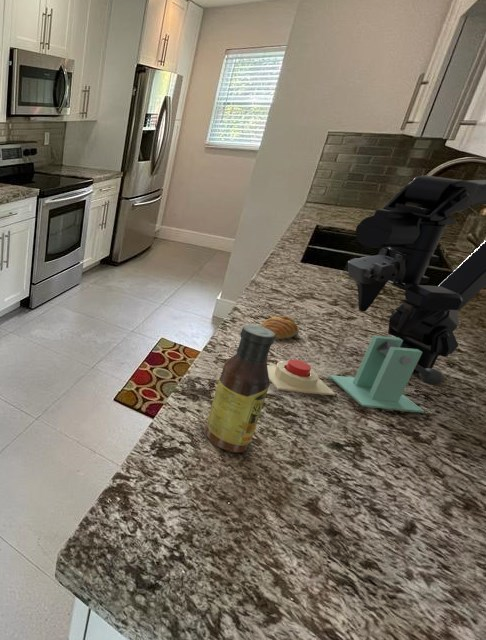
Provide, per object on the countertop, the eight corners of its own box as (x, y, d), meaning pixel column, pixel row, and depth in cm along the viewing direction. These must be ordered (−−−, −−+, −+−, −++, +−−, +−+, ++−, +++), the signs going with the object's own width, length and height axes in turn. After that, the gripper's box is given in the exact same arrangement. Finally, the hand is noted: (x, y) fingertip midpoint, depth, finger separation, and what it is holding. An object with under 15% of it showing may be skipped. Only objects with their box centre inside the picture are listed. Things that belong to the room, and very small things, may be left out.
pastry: (285, 346, 94) (290, 331, 93) (252, 334, 99) (257, 320, 98) (298, 334, 100) (303, 320, 98) (266, 323, 104) (270, 310, 103)
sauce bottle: (247, 461, 62) (287, 348, 55) (202, 444, 65) (234, 334, 58) (248, 435, 67) (284, 328, 60) (205, 420, 70) (235, 316, 63)
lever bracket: (382, 385, 81) (406, 333, 77) (422, 416, 73) (451, 360, 69) (327, 379, 82) (348, 328, 78) (360, 410, 74) (386, 354, 70)
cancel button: (301, 367, 81) (303, 360, 81) (312, 378, 78) (315, 370, 77) (281, 365, 82) (284, 358, 81) (292, 376, 78) (295, 368, 78)
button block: (307, 373, 84) (312, 361, 83) (333, 399, 77) (339, 385, 76) (255, 368, 85) (259, 356, 84) (276, 393, 78) (281, 380, 77)
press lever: (422, 381, 77) (437, 370, 76) (437, 391, 74) (452, 380, 73) (373, 349, 76) (387, 337, 75) (386, 358, 73) (401, 346, 72)
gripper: (330, 230, 85) (306, 298, 90) (410, 260, 67) (374, 342, 73) (388, 233, 84) (360, 302, 89) (484, 265, 66) (442, 347, 72)
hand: (380, 321), depth 81 cm, fingers open, 9 cm apart
